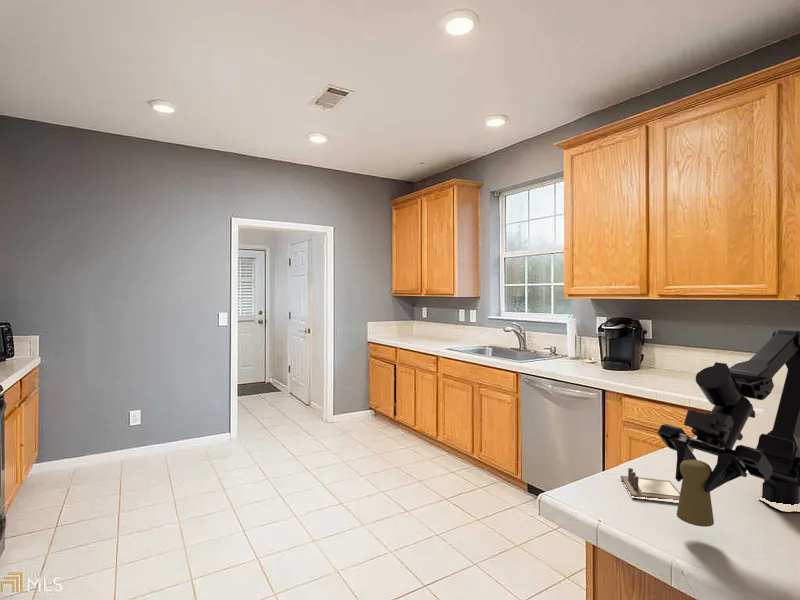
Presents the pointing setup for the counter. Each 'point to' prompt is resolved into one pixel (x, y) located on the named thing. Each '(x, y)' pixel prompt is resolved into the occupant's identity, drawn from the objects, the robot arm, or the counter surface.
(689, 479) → the cork
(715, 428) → the robot arm
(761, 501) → the counter surface
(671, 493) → the pin board
